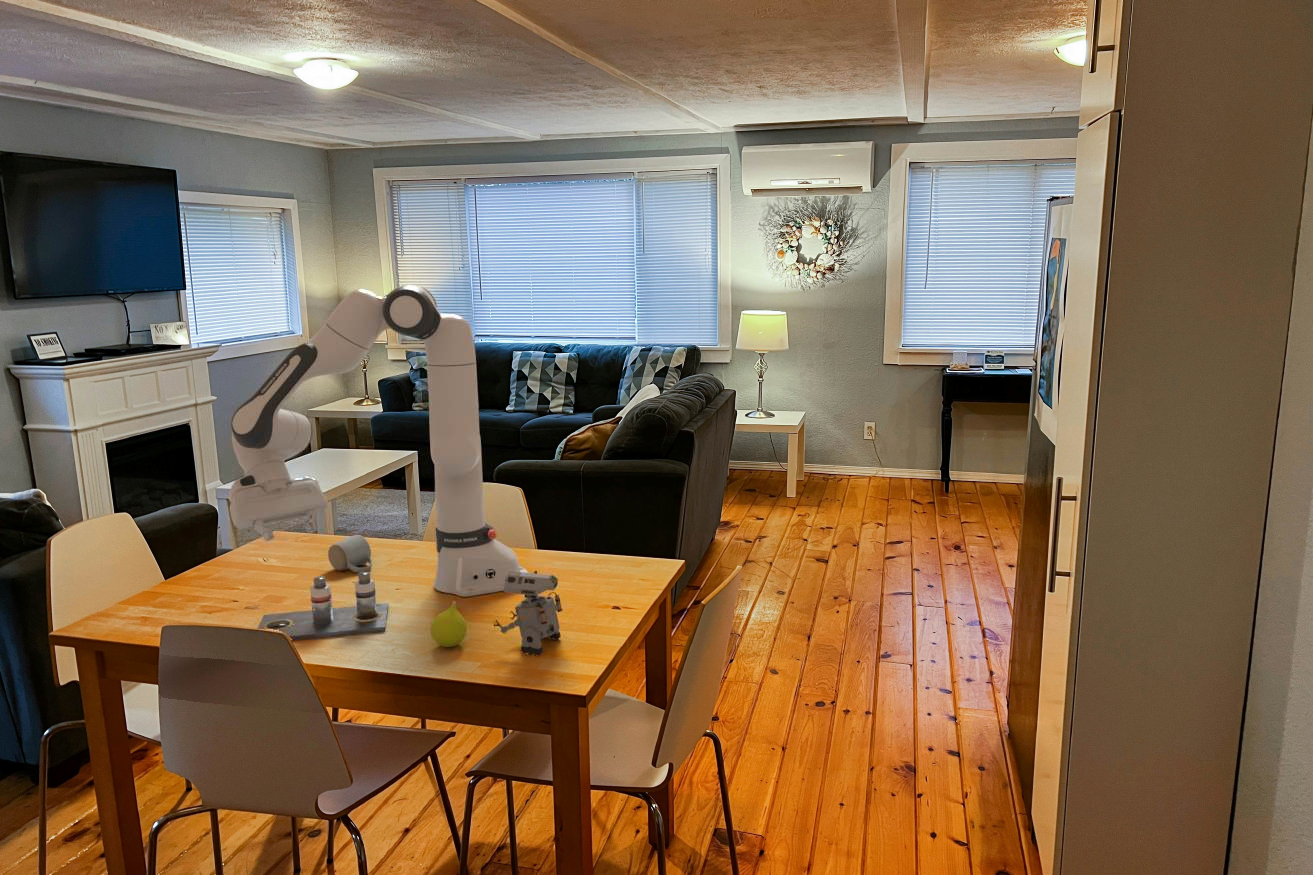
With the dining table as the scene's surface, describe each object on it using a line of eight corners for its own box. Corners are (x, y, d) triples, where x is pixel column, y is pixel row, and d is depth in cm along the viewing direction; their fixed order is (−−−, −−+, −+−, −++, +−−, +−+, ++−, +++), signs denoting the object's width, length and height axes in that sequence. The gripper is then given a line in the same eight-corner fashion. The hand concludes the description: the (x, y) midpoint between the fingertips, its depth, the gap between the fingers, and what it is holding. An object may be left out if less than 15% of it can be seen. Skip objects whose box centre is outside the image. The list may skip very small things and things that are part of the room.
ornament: (471, 638, 190) (468, 591, 188) (463, 652, 183) (460, 604, 181) (436, 638, 190) (433, 592, 188) (427, 652, 183) (424, 604, 181)
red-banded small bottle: (334, 616, 200) (330, 574, 198) (332, 623, 196) (328, 580, 194) (314, 617, 199) (310, 575, 197) (311, 625, 195) (307, 582, 193)
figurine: (517, 632, 192) (514, 563, 189) (567, 639, 188) (564, 569, 185) (494, 649, 184) (491, 577, 181) (546, 657, 180) (543, 584, 177)
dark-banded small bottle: (377, 611, 202) (374, 569, 200) (376, 618, 198) (373, 575, 196) (358, 613, 201) (354, 571, 199) (356, 620, 197) (353, 577, 195)
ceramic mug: (326, 569, 234) (324, 540, 232) (353, 560, 240) (351, 531, 239) (354, 577, 228) (352, 547, 226) (381, 567, 235) (379, 538, 233)
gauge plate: (388, 607, 207) (388, 602, 207) (385, 631, 194) (384, 625, 194) (264, 619, 202) (263, 614, 201) (252, 644, 188) (251, 639, 188)
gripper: (310, 483, 217) (332, 533, 212) (220, 498, 202) (241, 552, 198) (318, 468, 213) (340, 518, 208) (226, 482, 198) (248, 536, 194)
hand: (291, 535), depth 203 cm, fingers open, 8 cm apart
